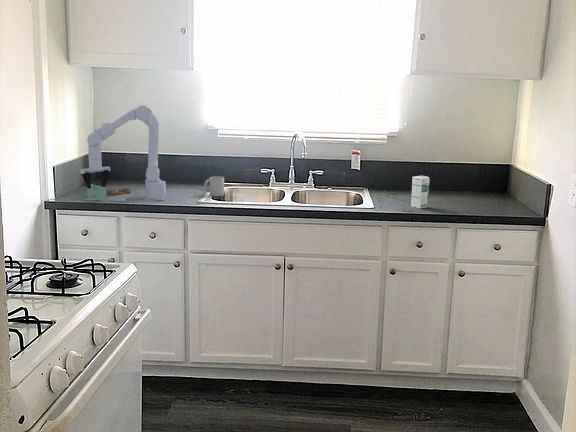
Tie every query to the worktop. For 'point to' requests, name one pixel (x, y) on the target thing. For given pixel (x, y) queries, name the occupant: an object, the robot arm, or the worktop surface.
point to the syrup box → (420, 191)
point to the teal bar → (97, 192)
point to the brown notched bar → (121, 192)
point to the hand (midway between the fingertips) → (96, 187)
